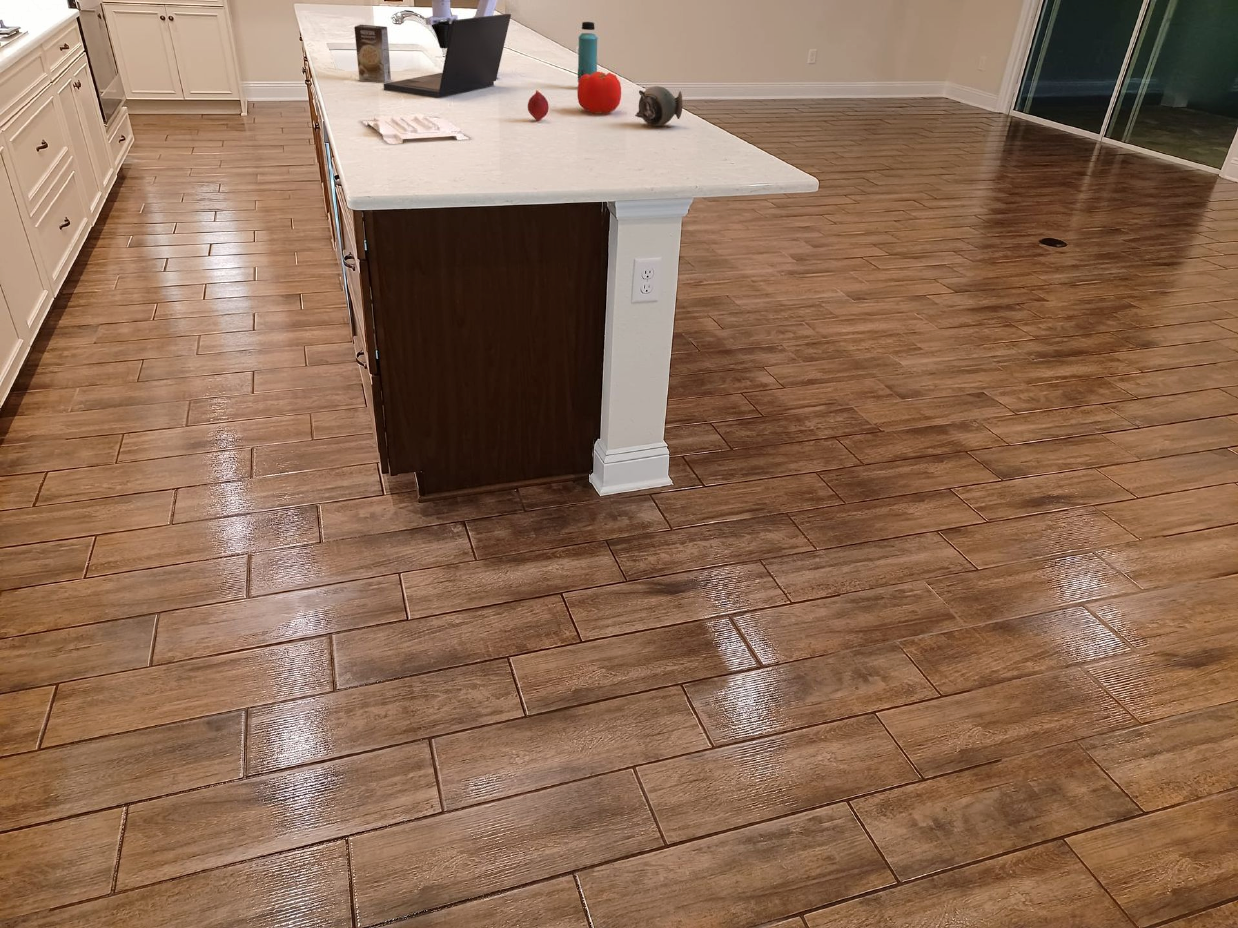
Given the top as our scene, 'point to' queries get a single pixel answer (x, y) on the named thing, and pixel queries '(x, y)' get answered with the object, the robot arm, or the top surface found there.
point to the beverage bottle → (587, 51)
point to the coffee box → (372, 53)
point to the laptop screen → (474, 51)
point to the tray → (413, 127)
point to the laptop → (428, 86)
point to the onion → (538, 106)
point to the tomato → (599, 92)
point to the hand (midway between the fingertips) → (443, 48)
